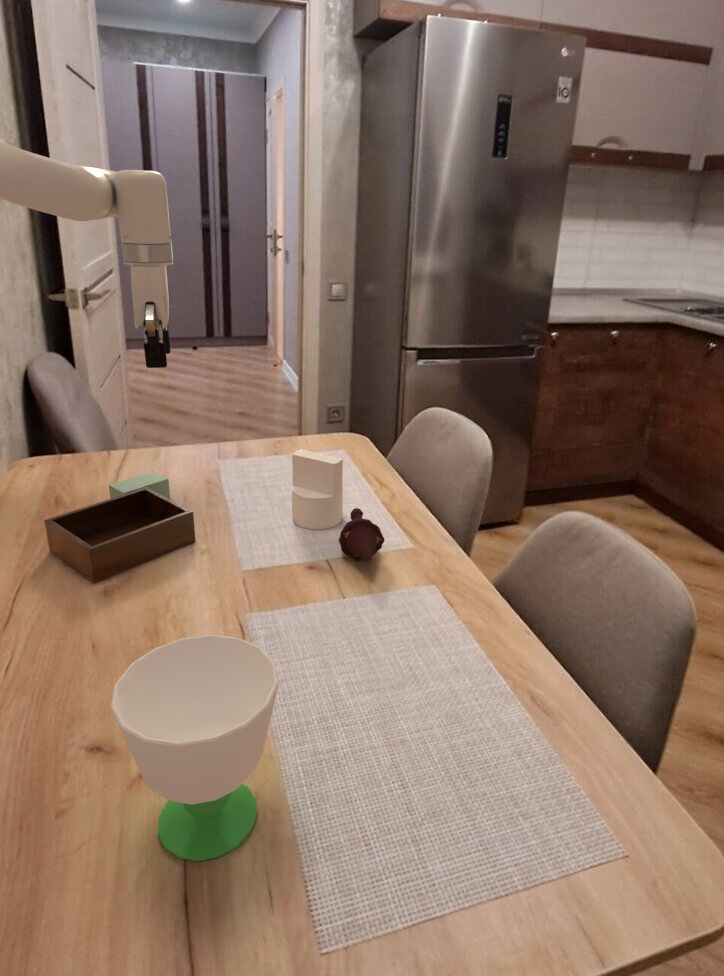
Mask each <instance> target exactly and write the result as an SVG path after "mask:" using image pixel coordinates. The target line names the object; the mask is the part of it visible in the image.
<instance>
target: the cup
mask: <svg viewBox="0 0 724 976" xmlns="http://www.w3.org/2000/svg"><path fill="white" fill-rule="evenodd" d="M276 664H277V663H275V662H274V661H273V660H272V659H271V657H270V656H269V655H268V654H267V653H266V651H265V650H264V649H263V648H262V647H260V646H258V645H256V644H253V643H252V642H249V641H248V640H244V639H243V638H240V637H233V636H227V635H219V634H218V635H217V634H205V635H198V636H190V637H182V638H179V639H176V640H174V641H171V642H167V643H165V644H162V645H160V646H156V647H154V648H152V650H151V649H150V651H148V652H147V653H145V654H144V655H142V656H141V657H139V658H137V659H136V660H135V661H133V662H132V663H130V664H129V666H128V667H127V668H126V669H125V671H124V673H122V675H121V676H120V677H119V679H118V680H117V682H116V683H115V684H114V687H113V692H112V697H111V703H110V710H111V711H112V714H113V716H114V718H115V721H116V723H117V725H118V727H119V729H120V731H121V734H122V736H123V738H124V740H125V742H126V744H127V746H128V749H129V751H130V753H131V756H132V758H133V760H134V762H135V764H136V767H137V769H138V771H139V773H140V775H141V776H142V779H143V781H144V783H145V785H146V787H147V788H148V789H149V790H152V791H153V792H154V793H156V794H158V795H159V796H161V797H163V798H164V799H165V800H167V801H166V803H165V805H164V807H163V808H162V811H161V812H160V814H159V816H158V826H157V835H158V838H159V839H160V842H161V844H162V846H163V848H164V849H165V850H166V851H168V852H169V853H170V854H172V855H174V856H175V857H177V858H178V859H180V860H188V861H193V862H202V861H208V860H212V859H216V858H220V857H223V856H224V855H226V854H227V853H229V852H231V851H233V850H235V849H236V848H238V847H239V846H240V845H241V844H242V843H243V842H244V840H246V838H247V837H248V836H249V835H250V834H251V833H252V831H253V828H254V825H255V822H256V820H257V818H258V809H257V798H256V797H255V796H254V794H253V792H252V791H251V790H250V788H249V787H248V786H247V785H245V784H244V782H245V781H247V779H248V778H249V777H250V776H251V775H252V774H253V773H254V772H255V771H256V770H257V768H258V765H259V762H260V760H261V758H262V756H263V753H264V750H265V746H266V741H267V737H268V732H269V728H270V723H271V720H272V715H273V711H274V705H275V701H276V697H277V693H278V688H279V677H278V672H277V665H276Z"/></svg>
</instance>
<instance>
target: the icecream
mask: <svg viewBox="0 0 724 976" xmlns="http://www.w3.org/2000/svg"><path fill="white" fill-rule="evenodd" d="M363 515H364V512H363V510H362V509H361V508H358V507H354V508H353V509H352V510H351V512H350V521H348V522H346V523H345V524H344V526H343V528H342V529H341V531H340V534H339V538H338V543H339V546H340V549H341V552H342V554H343V555H345V556H346V557H349V558H351V559H353V560H355V561H360V560H366V561H368V562H371V561H372V560H373V557H374V556H375V555H376V554H377V552H378V551H380V550H381V549H382V547H383V544H384V543H385V538H384V536H383V534H382V531H381V528H380V527H379V525H377V524H375V523H373V522H372V521H371V520H370V519H367V518H363Z"/></svg>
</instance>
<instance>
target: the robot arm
mask: <svg viewBox="0 0 724 976" xmlns="http://www.w3.org/2000/svg"><path fill="white" fill-rule="evenodd" d="M0 200H3V201H6V202H9V203H11V204H15V205H18V206H21V207H23V208H28V209H31V210H35V211H37V212H41V213H45V214H49V215H52V216H55V217H59V218H62V219H68V220H71V221H76V222H90V221H95V220H96V221H97V220H103V219H110V218H117V219H118V225H119V234H120V235H119V236H120V243H121V244H120V245H121V252H122V260H123V265H125V266H130V286H131V298H132V310H133V321H134V327H135V329H137V330H140V329H141V328H142V327H143V351H144V358H145V366H146V368H148V369H157V368H158V369H159V368H161V369H162V368H167V367H168V359H167V355H169V354H171V343H170V333H169V330H168V325H169V320H170V296H169V286H168V285H169V283H168V272H167V266H173V265H174V254H173V243H172V233H171V222H170V212H169V202H168V200H169V199H168V189H167V181H166V179H165V177H164V175H163V174H162V173H160V172H158V171H154V170H141V169H121V170H119V171H117V170H111V169H110V170H109V169H104V168H100V167H99V168H98V167H93V166H86V165H77V164H73V163H68V162H64V161H61V160H58V159H55V158H51V157H47V156H45V155H41V154H38V153H34V152H31V151H28V150H25V149H22V148H19V147H16V146H14V145H12V144H9V143H7V142H6V141H4V140H3V139H2V138H0Z"/></svg>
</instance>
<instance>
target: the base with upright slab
mask: <svg viewBox="0 0 724 976" xmlns="http://www.w3.org/2000/svg"><path fill="white" fill-rule="evenodd" d="M291 455H292V457H291V458H292V486H291V505H292V506H291V517H292V522H293V523H294V524H295V525H297V526H298V527H301V528H303V529H308V530H326V529H329V528H333V527H336V526H338V525H339V524H340V523H341V522H342V520H343V500H344V499H343V498H344V496H343V495H344V493H343V492H344V487H343V473H344V471H343V469H344V468H343V467H344V466H343V465H344V458H342V457H338V456H334V455H330V454H325V453H322V452H316V451H311V450H308V449H303V448H301V449H298V450H295V451H294V452H293V453H292V454H291Z"/></svg>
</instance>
